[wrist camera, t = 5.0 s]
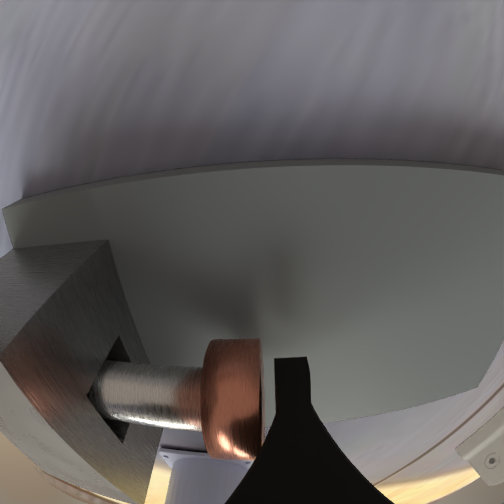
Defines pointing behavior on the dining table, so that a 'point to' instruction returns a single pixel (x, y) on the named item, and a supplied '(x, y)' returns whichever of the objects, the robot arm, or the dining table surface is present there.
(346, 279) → the base plate
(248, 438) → the shaft
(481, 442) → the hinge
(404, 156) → the dining table surface
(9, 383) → the bearing block
